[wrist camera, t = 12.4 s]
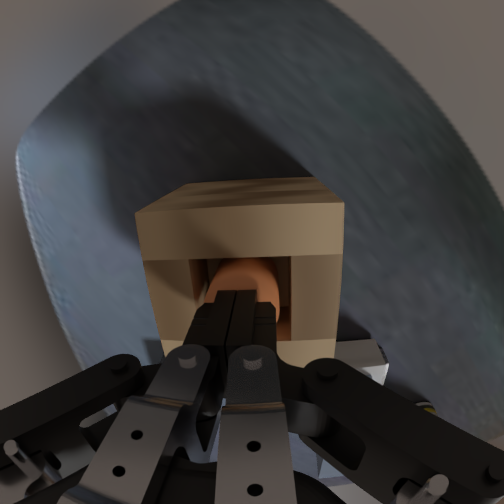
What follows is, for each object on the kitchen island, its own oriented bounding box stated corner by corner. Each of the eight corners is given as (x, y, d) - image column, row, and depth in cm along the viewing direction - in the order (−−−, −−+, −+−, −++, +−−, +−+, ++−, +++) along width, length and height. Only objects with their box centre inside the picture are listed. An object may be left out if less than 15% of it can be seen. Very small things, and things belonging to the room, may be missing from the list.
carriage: (374, 338, 22) (411, 429, 13) (364, 387, 24) (387, 472, 15) (299, 344, 22) (308, 443, 14) (297, 393, 24) (302, 484, 16)
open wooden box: (314, 177, 18) (344, 202, 11) (314, 293, 21) (332, 370, 14) (186, 183, 19) (134, 213, 11) (200, 296, 22) (169, 371, 14)
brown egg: (277, 247, 14) (278, 274, 11) (278, 304, 15) (279, 340, 12) (212, 249, 14) (198, 276, 11) (219, 305, 15) (208, 340, 13)
